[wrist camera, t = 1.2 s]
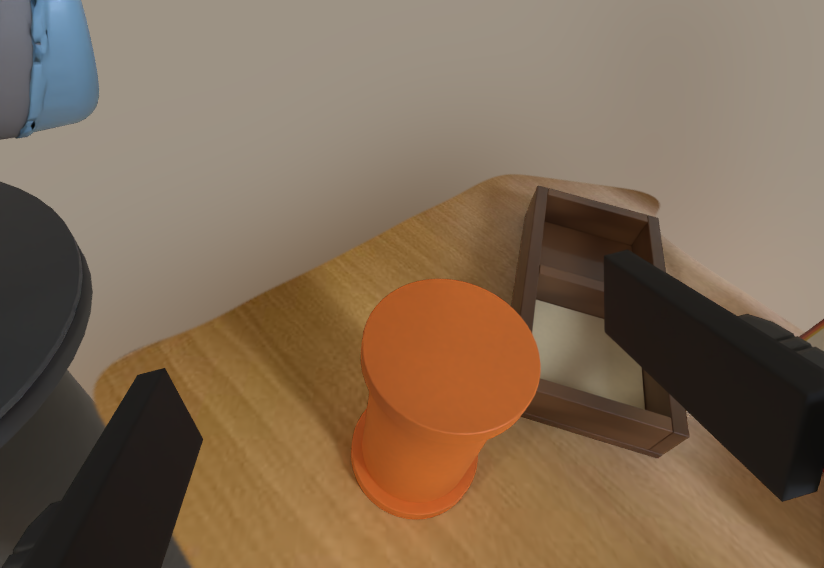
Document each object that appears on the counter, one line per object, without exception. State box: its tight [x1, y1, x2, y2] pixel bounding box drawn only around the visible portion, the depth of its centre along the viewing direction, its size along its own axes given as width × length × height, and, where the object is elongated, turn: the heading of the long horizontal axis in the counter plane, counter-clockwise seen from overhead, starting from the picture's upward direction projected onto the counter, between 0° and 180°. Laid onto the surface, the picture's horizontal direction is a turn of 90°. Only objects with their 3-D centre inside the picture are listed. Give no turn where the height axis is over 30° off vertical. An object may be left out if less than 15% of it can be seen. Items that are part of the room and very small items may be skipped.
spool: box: [351, 279, 541, 519], centre depth 24 cm, size 8×8×12 cm
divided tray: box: [511, 186, 689, 458], centre depth 36 cm, size 11×21×4 cm, turn 165°
